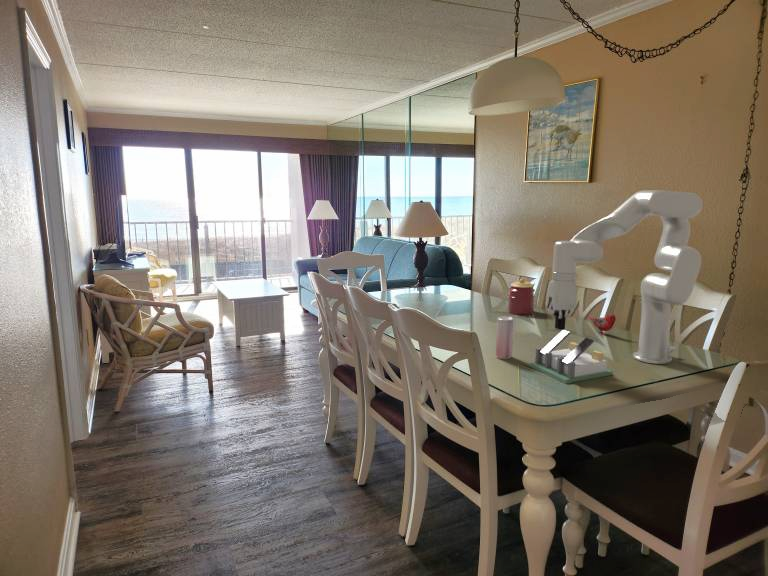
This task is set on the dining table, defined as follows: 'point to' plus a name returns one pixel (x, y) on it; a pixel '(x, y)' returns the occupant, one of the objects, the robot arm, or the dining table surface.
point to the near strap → (577, 351)
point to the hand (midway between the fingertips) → (559, 328)
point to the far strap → (555, 342)
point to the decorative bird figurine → (604, 323)
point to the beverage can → (504, 337)
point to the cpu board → (571, 365)
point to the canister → (521, 298)
